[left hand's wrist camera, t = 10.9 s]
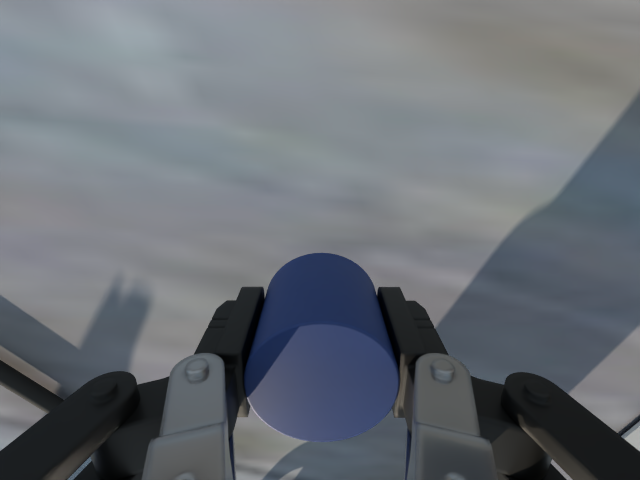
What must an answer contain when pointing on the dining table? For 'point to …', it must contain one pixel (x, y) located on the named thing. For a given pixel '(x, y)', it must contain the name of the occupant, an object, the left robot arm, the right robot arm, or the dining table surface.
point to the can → (321, 352)
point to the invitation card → (633, 436)
